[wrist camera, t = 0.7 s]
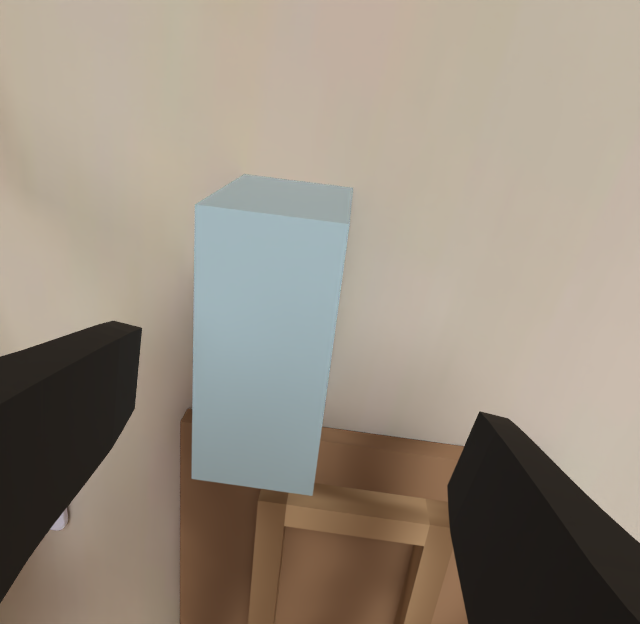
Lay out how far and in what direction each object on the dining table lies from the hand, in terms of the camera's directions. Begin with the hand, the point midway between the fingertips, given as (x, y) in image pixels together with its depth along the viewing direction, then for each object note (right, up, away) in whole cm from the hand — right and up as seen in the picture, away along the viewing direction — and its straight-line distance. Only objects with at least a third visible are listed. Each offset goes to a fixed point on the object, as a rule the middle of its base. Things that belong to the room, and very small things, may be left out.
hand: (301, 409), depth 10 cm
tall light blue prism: (-1, +3, +10) cm, 10 cm away
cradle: (+1, -12, +15) cm, 19 cm away
